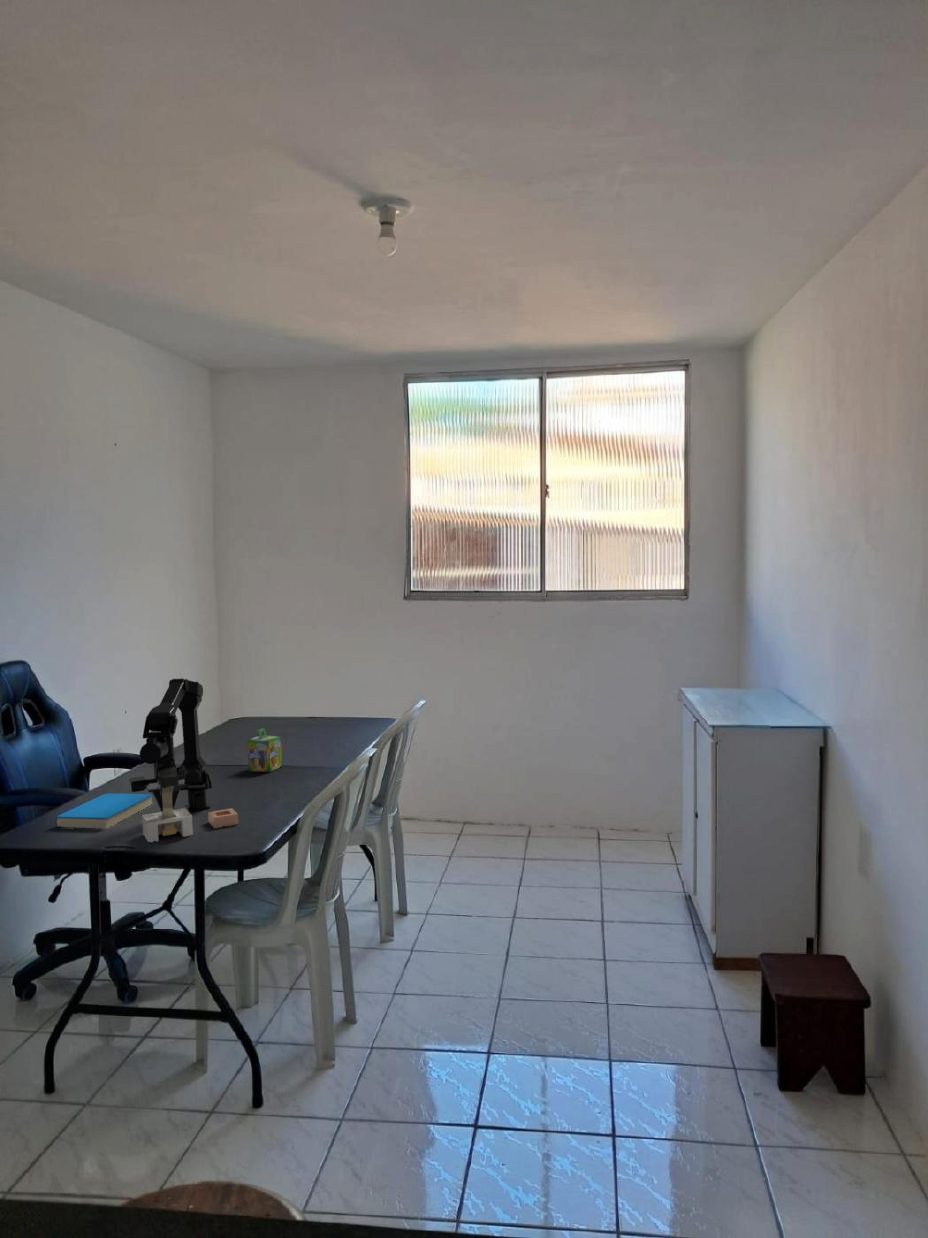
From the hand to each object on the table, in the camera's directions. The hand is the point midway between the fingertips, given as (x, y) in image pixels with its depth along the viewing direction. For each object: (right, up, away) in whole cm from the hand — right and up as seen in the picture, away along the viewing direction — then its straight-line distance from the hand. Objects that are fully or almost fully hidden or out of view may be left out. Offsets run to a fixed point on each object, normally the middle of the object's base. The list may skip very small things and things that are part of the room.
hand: (167, 810), depth 255 cm
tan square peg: (0, -5, 0) cm, 5 cm away
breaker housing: (0, -7, +1) cm, 7 cm away
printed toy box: (+11, -1, +75) cm, 76 cm away
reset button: (0, -7, 0) cm, 6 cm away
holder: (+13, -6, +11) cm, 18 cm away
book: (-26, -7, +23) cm, 35 cm away
